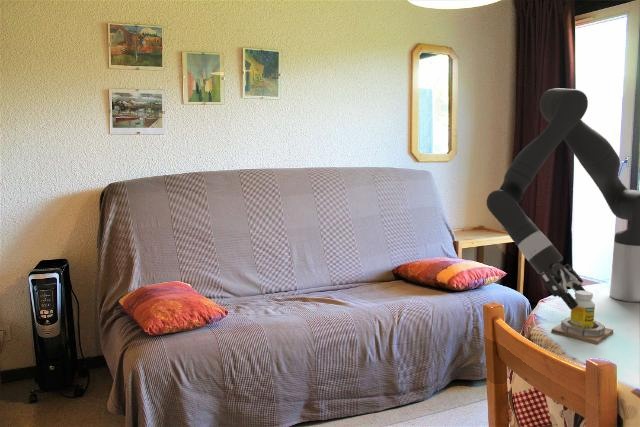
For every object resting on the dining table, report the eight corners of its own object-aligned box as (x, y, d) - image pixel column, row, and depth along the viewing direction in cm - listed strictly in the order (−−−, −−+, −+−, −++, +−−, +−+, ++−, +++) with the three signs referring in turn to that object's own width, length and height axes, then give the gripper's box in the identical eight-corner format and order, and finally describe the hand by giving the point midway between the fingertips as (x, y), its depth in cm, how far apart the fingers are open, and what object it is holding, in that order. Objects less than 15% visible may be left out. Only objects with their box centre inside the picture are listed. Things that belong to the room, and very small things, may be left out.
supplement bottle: (577, 324, 142) (579, 288, 140) (597, 330, 137) (600, 293, 136) (565, 328, 139) (567, 291, 138) (585, 334, 134) (588, 296, 133)
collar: (568, 321, 146) (569, 313, 146) (613, 332, 138) (613, 324, 138) (551, 332, 138) (552, 323, 138) (597, 344, 130) (598, 334, 130)
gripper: (538, 247, 137) (582, 302, 130) (561, 240, 147) (603, 290, 140) (517, 264, 141) (558, 317, 135) (540, 256, 151) (580, 305, 145)
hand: (581, 303), depth 137 cm, fingers open, 8 cm apart
